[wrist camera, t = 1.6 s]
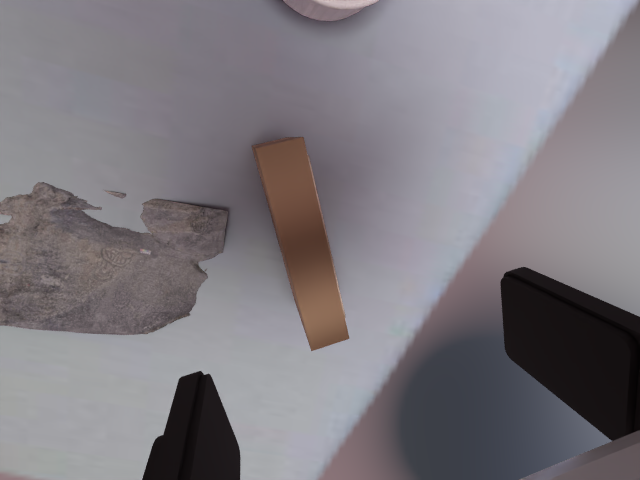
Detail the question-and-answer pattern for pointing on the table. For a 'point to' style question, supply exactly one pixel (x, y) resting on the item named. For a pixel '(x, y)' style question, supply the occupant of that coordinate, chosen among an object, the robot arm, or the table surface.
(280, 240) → the brown wooden block
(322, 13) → the ramekin
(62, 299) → the stone slab
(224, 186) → the table surface
